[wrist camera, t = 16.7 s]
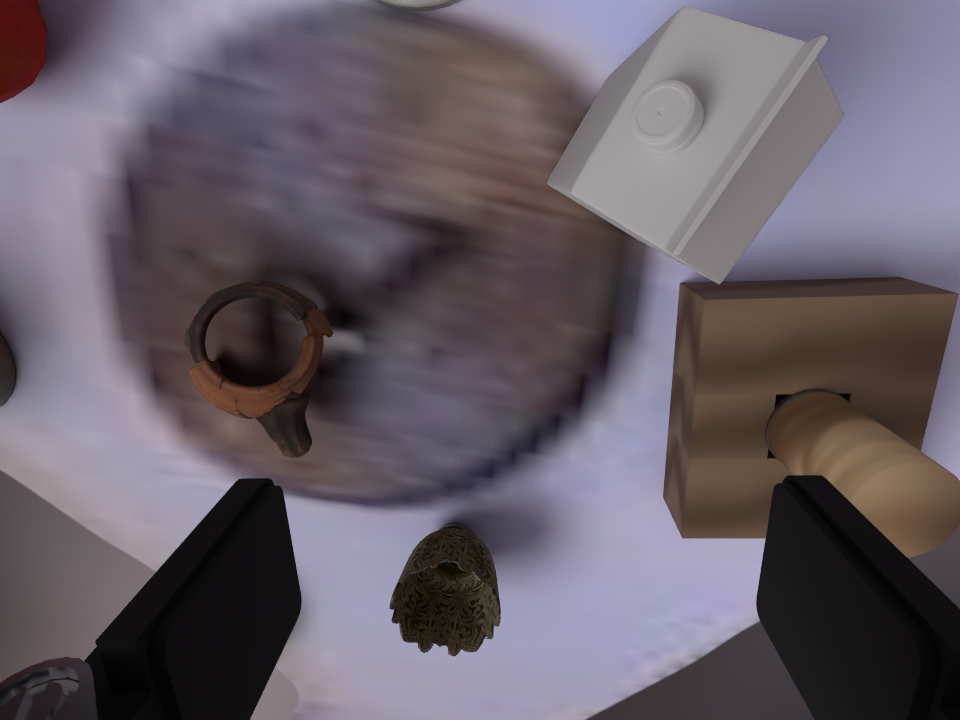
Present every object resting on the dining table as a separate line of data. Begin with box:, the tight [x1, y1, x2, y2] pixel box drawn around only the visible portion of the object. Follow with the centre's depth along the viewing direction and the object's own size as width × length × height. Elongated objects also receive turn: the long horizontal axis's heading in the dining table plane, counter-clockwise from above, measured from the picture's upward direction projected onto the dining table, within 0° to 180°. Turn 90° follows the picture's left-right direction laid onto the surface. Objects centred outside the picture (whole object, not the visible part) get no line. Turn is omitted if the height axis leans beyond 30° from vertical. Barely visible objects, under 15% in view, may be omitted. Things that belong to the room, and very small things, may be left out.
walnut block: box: [663, 277, 959, 538], centre depth 37 cm, size 16×14×5 cm
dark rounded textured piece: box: [390, 523, 501, 656], centre depth 41 cm, size 8×7×8 cm
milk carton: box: [547, 6, 844, 284], centre depth 26 cm, size 7×7×19 cm
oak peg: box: [765, 389, 960, 558], centre depth 32 cm, size 5×5×14 cm
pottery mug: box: [184, 282, 333, 458], centre depth 38 cm, size 12×10×8 cm
